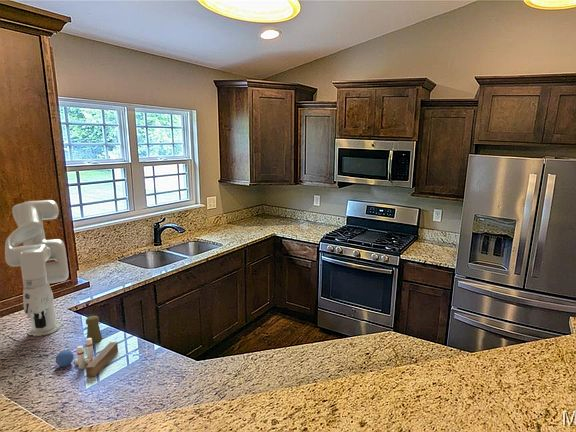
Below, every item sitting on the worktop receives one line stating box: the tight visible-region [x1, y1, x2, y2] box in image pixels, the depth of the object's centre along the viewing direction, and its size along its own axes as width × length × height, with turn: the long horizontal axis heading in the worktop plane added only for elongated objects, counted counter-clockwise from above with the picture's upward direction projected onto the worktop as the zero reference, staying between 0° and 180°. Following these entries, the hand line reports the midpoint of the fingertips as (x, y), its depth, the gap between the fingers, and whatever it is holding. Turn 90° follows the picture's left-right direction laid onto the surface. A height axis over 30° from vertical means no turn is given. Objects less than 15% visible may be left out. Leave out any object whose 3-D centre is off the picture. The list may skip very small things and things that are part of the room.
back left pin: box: [85, 337, 95, 359], centre depth 146 cm, size 2×2×8 cm
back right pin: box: [76, 345, 86, 370], centre depth 140 cm, size 2×2×8 cm
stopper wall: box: [85, 341, 119, 378], centre depth 143 cm, size 3×18×4 cm, turn 179°
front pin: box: [73, 357, 95, 366], centre depth 142 cm, size 2×2×8 cm
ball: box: [55, 349, 75, 367], centre depth 141 cm, size 6×6×6 cm
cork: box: [85, 315, 103, 345], centre depth 160 cm, size 6×6×11 cm
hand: (40, 326), depth 141 cm, fingers closed
